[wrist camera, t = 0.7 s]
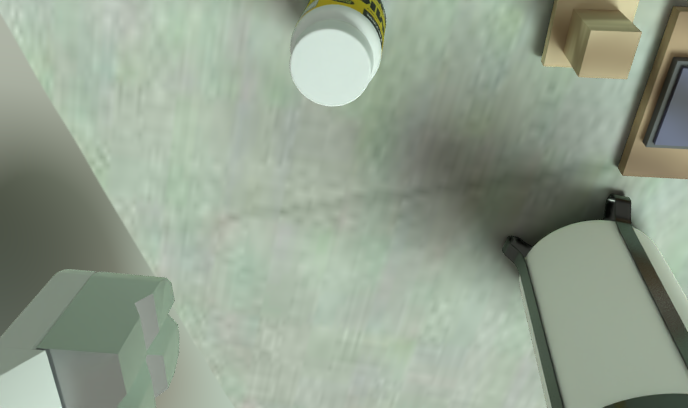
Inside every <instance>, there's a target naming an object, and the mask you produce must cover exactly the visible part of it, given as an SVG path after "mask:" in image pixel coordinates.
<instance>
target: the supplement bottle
mask: <svg viewBox="0 0 688 408" xmlns="http://www.w3.org/2000/svg"><path fill="white" fill-rule="evenodd" d="M385 28H386V14H385V9H384V6H383V3H382V1H381V0H310V2H309V3H308V5H307V7H306V9H305V10H304V12H303V14H302V16H301V17H300V19H299V21H298V23H297V25H296V26H295V29H294V31H293V34H292V38H291V45H290V52H291V57H290V73H291V76H292V79H293V82H294V84H295V85H296V87H297V88H298V90H299V91H300V92H301V93H302V94H303V95H304V96H305V97H306V98H308V99H309V100H311V101H313V102H315V103H317V104H320V105H324V106H341V105H345V104H348V103H350V102H352V101H354V100H355V99H357V98H358V97H359V96H360V95H361V94H362V93H363V92H364V90H365V89H366V87H367V85H368V83H369V82H370V81H371V80H372V78H373V77H374V75H375V74H376V72H377V70H378V68H379V65H380V62H381V57H382V49H383V42H384V33H385Z"/></svg>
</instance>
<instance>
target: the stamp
mask: <svg viewBox="0 0 688 408" xmlns="http://www.w3.org/2000/svg"><path fill="white" fill-rule="evenodd" d="M638 3H639V0H554V4H553V9H552V14H551V18H550V23H549V27H548V32H547V36H546V41H545V45H544V50H543V54H542V59H541V62H542V64H543V66H548V67H573V69H574V70H575V72H576V74H577V75H578V77H589V78H613V79H627V78H628V74H629V71H630V68H631V65H632V62H633V59H634V56H635V53H636V49H637V46H638V43H639V40H640V37H641V34H642V32H641V31H640V30H639V29H638V28H637V27H636V26H635V25H634V24H633V20H634V16H635V13H636V10H637V7H638Z"/></svg>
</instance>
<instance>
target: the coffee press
mask: <svg viewBox="0 0 688 408" xmlns="http://www.w3.org/2000/svg"><path fill="white" fill-rule="evenodd" d="M502 251H503V253H504V254H505V255H506V256H507V257H508V258H509V259H510V260H511V261H512V262H513V263H514V264H515V265H516V266H517V268H518V271H519V274H520V276H519V283H520V290H521V295H522V300H523V304H524V309H525V313H526V318H527V322H528V326H529V331H530V335H531V340H532V344H533V348H534V353H535V357H536V361H537V366H538V370H539V375H540V379H541V383H542V388H543V392H544V396H545V401H546V405H547V408H688V299H687V297H686V295H685V294H684V292H683V290H682V288H681V287H680V285H679V283H678V281H677V280H676V278H675V276H674V274H673V273H672V271H671V269H670V268H669V266H668V264H667V262H666V261H665V259H664V257H663V256H662V254H661V252H660V251H659V249H658V247H657V246H656V245H655V243H654V242H653V241H652V240H651V239H650V238H649V237H648V236H647V235H646V234H644V233H643V232H641V231H640V230H638V229H636V228H634V227H632V224H631V200H630V198H629V197H625V196H621V195H616V194H611V195H610V196H609V197H608V198H607V201H606V206H605V214H604V219H603V220H592V221H583V222H578V223H574V224H570V225H567V226H565V227H562V228H560V229H558V230H555V231H554V232H552V233H550V234H548V235H547V236H545V237H544V238H543V239H541V240H540V241H539V242H538V243H537V244H536V245H535V246H534V247H532V246H530V245H528V244H527V243H525V242H524V241H523V240H521V239H520V238H518V237H515V236H509V237H508V238H507V240H506V242H505V244H504V246H503V248H502ZM524 257H526V258H524Z"/></svg>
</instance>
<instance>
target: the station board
mask: <svg viewBox="0 0 688 408" xmlns="http://www.w3.org/2000/svg"><path fill="white" fill-rule="evenodd" d="M618 169H619V170H620V172H621V174H622V176H640V177H658V178H676V179H688V7H679V6H673V9H672V12H671V14H670V17H669V20H668V23H667V26H666V29H665V32H664V35H663V38H662V41H661V44H660V46H659V49H658V52H657V55H656V58H655V61H654V64H653V67H652V70H651V73H650V76H649V79H648V81H647V84H646V87H645V90H644V93H643V96H642V99H641V102H640V105H639V108H638V111H637V114H636V116H635V119H634V122H633V125H632V128H631V131H630V134H629V137H628V140H627V143H626V146H625V149H624V151H623V154H622V157H621V160H620V163H619V166H618Z"/></svg>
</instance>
